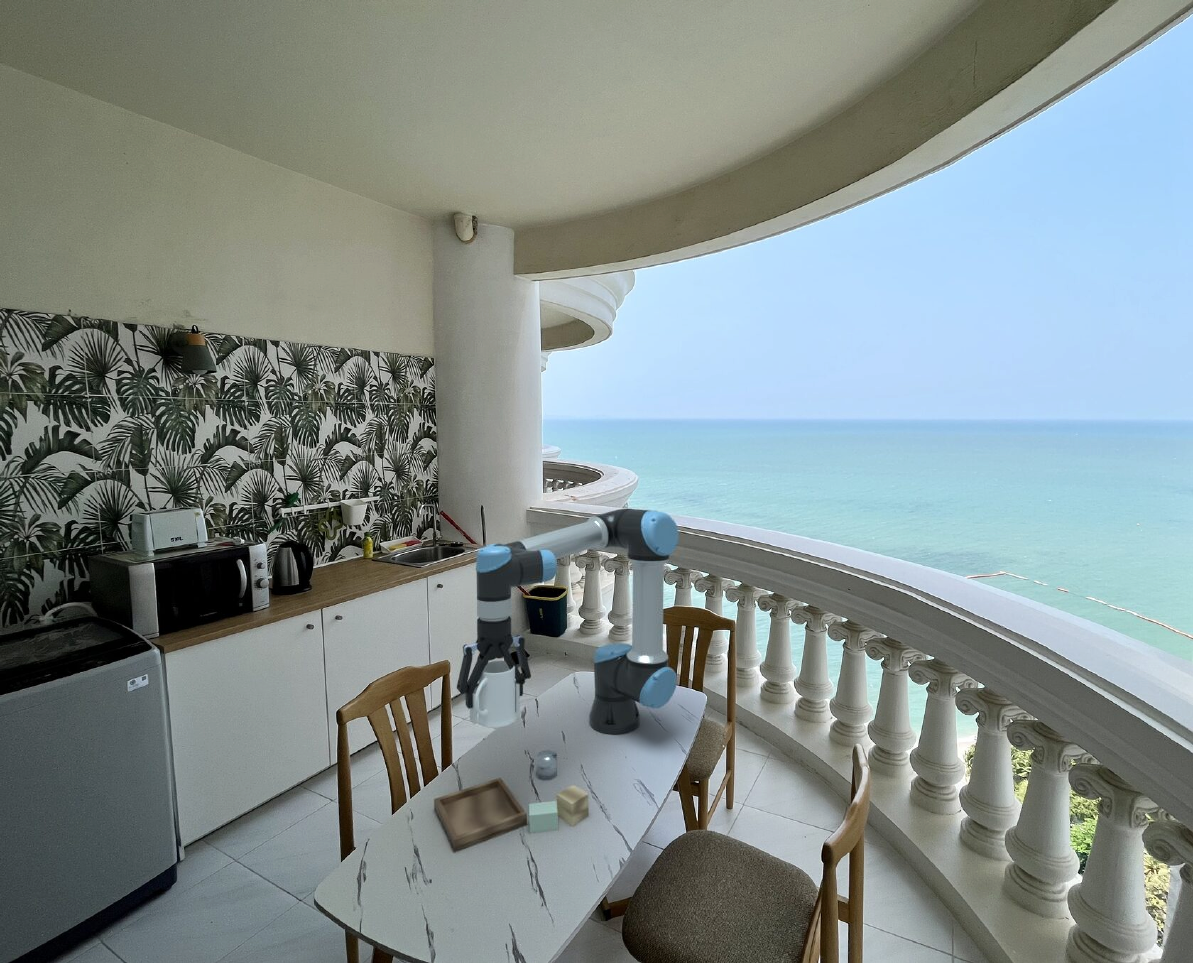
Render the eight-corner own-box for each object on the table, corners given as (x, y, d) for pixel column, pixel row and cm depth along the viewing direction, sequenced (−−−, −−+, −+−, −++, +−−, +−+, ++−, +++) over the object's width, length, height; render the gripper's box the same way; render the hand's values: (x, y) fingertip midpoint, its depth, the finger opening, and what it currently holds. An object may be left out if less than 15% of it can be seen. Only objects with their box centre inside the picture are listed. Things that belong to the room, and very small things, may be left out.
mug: (488, 738, 117) (487, 682, 116) (458, 728, 121) (458, 673, 121) (524, 716, 127) (523, 664, 126) (495, 707, 131) (495, 657, 131)
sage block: (556, 818, 124) (556, 801, 123) (557, 830, 120) (557, 812, 119) (529, 821, 123) (528, 803, 123) (529, 833, 119) (529, 815, 119)
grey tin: (551, 766, 144) (551, 748, 144) (560, 776, 140) (560, 757, 139) (534, 772, 141) (533, 753, 141) (542, 782, 137) (542, 762, 137)
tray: (500, 787, 135) (500, 777, 135) (527, 824, 121) (526, 813, 121) (434, 809, 127) (434, 799, 127) (454, 852, 113) (454, 840, 113)
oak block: (573, 805, 128) (572, 784, 128) (588, 815, 124) (588, 793, 124) (557, 816, 124) (556, 794, 124) (572, 826, 121) (572, 804, 121)
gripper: (532, 606, 133) (532, 698, 133) (440, 619, 121) (441, 721, 122) (546, 613, 126) (546, 710, 127) (450, 628, 115) (451, 735, 116)
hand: (495, 715), depth 125 cm, fingers closed on mug, 9 cm apart
